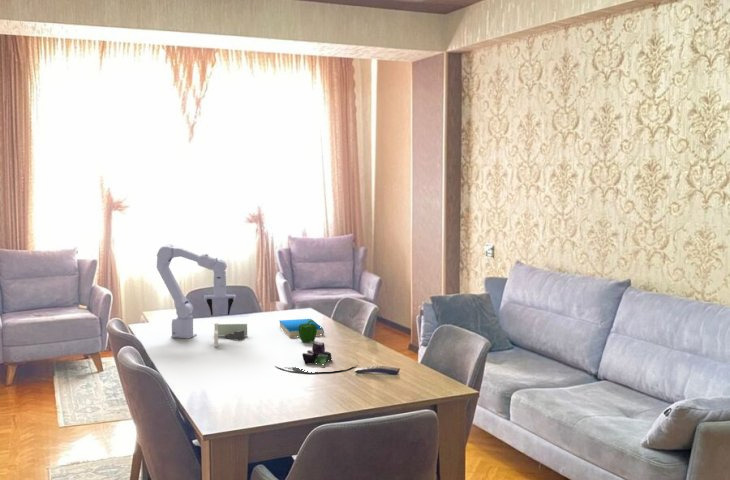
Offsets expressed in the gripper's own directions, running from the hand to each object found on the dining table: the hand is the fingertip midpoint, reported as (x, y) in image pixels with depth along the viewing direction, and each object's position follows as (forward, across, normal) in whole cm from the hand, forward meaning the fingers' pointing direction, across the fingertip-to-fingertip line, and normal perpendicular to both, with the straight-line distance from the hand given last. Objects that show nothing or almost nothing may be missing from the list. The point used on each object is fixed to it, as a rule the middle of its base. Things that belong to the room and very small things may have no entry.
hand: (220, 314), depth 351 cm
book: (+11, +39, +5) cm, 41 cm away
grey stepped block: (+11, +6, -5) cm, 13 cm away
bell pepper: (+11, +39, -18) cm, 44 cm away
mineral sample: (+11, +38, -57) cm, 69 cm away
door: (+10, +6, 0) cm, 12 cm away
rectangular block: (+10, -2, -7) cm, 13 cm away
